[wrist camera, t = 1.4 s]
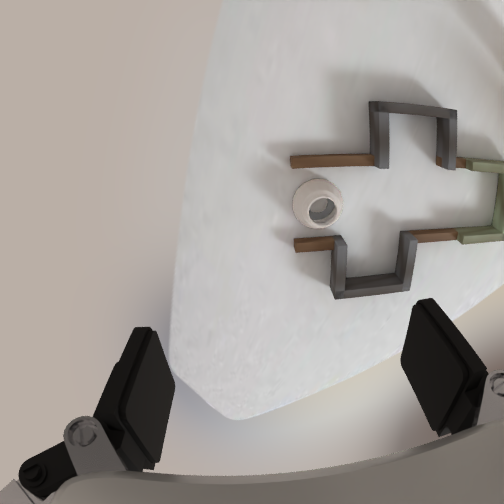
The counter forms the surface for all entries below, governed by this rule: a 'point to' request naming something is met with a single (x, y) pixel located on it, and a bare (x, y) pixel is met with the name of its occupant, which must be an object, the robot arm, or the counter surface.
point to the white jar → (317, 202)
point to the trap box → (402, 277)
